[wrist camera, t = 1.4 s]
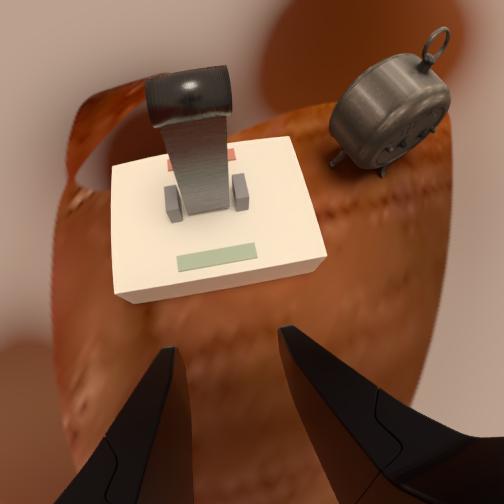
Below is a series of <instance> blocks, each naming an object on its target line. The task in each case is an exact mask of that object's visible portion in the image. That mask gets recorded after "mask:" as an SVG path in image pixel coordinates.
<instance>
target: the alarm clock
mask: <svg viewBox="0 0 504 504" xmlns="http://www.w3.org/2000/svg"><path fill="white" fill-rule="evenodd" d="M443 31H446V39H445V42H444V45H443V47H442V48H441V49H440V50H439V51H438V53H437V54H435V55H434V56H432V55H431V54H428V53H426V52H427V49H428V47H429V45H430V44H431V42H432V41H433V40H434V39H435V37H436V36H437V35H438V34H440V33H441V32H443ZM449 40H450V31H449V29H448V28H447V27H441V28H439V29H437V30H436V31H435V32H433V33H432V34H431V36H430V37H429V39H428V40H427V42H426V44H425V45H424V48H423V51H422V58H423V60H421V59H420V58H419V57H418V56H416V55H414V54H398V55H394V56H391V57H388V58H387V59H384V60H382V61H380V62H379V63H377V64H375V65H374V66H372V67H370V68H369V69H368V70H366V71H365V72H363V74H362V75H360V76H359V77H358V78H357V79H356V80H355V81H354V82H353V83H352V84H351V85H350V86H349V88H348V89H347V90H346V91H345V92H344V94H343V95H342V96H341V98H340V99H339V101H338V102H337V104H336V106H335V108H334V110H333V112H332V114H331V118H330V122H329V131H330V134H331V135H332V137H334V138H335V139H336V141H337V142H338V143H339V144H340V145H341V147H342V148H343V150H342V151H341V152H340V153H339V154H338V155H337V156H336V158H335V159H334V160H333V161H331V162H329V166H330V167H331V168H334V167H335V165H336V164H337V163H338V162H340V161H341V160H343V159H344V158H346V157H347V156H349V157H350V158H351V159H352V161H353V162H354V163H355V164H356V165H357V166H358V167H360V168H362V169H376V168H380V167H382V170H381V176H382V178H383V177H384V176H385V175H386V169H387V166H389V165H390V164H391V163H392V162H393V161H395V160H397V159H398V158H400V157H401V156H403V155H404V154H406V153H407V152H409V151H410V150H411V149H413V148H414V147H415V146H416V145H418V144H419V143H420V142H421V141H422V140H424V139H425V138H426V137H427V136H428V135H429V134H430V133H431V132H432V133H435V132H436V129H435V128H436V127H437V126H438V124H439V123H440V122H441V121H442V119H443V118H444V116H445V115H446V113H447V111H448V109H449V106H450V103H451V95H450V91H449V88H448V87H447V86H446V84H445V83H444V82H443V81H442V80H441V79H440V78H439V77H438V76H437V75H436V74H435V73H434V72H433V71H432V70H431V69H430V67H431V65H433V64H434V63H435V59H436V58H438V57H439V56H440V55H441V54H442V53H443V51H444V50H445V48H446V47H447V45H448V42H449Z"/></svg>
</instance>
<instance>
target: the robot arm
mask: <svg viewBox="0 0 504 504" xmlns="http://www.w3.org/2000/svg"><path fill="white" fill-rule="evenodd" d="M278 341H279V351H280V356H281V359H282V363H283V367H284V370H285V374H286V377H287V381H288V385H289V388H290V392H291V395H292V398H293V401H294V403H295V406H296V408H297V410H298V413H299V415H300V417H301V420H302V422H303V424H304V426H305V429H306V431H307V433H308V436H309V438H310V440H311V442H312V445H313V447H314V449H315V451H316V454H317V456H318V458H319V460H320V462H321V465H322V467H323V469H324V471H325V474H326V476H327V478H328V480H329V482H330V485H331V487H332V489H333V491H334V493H335V495H336V498H337V500H338V502H339V504H504V437H484V438H482V437H481V438H480V437H473V436H469V435H465V434H462V433H460V432H458V431H455V430H453V429H451V428H449V427H447V426H445V425H443V424H441V423H439V422H437V421H435V420H433V419H431V418H429V417H427V416H425V415H423V414H421V413H419V412H417V411H415V410H414V409H412V408H410V407H408V406H406V405H405V404H403V403H402V402H400V401H399V400H397V399H395V398H394V397H392V396H391V395H389V394H388V393H386V392H385V391H384V390H382V389H381V388H379V389H378V386H376V385H375V384H373V383H372V382H371V381H369V380H368V379H366V378H365V377H364V376H362V375H361V374H359V373H358V372H357V371H355V370H354V369H352V368H351V367H350V366H348V365H347V364H345V363H344V362H343V361H341V360H340V359H338V358H337V357H336V356H334V355H333V354H332V353H330V352H329V351H327V350H326V349H325V348H323V347H322V346H321V345H319V344H318V343H317V342H315V341H314V340H313V339H311V338H310V337H308V336H307V335H306V334H304V333H303V332H302V331H300V330H299V329H298V328H296V327H295V326H294V325H286V326H281V327H279V328H278ZM105 436H106V437H103V438H102V440H101V442H100V443H99V445H98V446H97V448H96V449H95V451H94V452H93V454H92V455H91V457H90V458H89V460H88V461H87V462H86V464H85V465H84V466H83V468H82V469H81V470H80V472H79V473H78V474H77V475H76V477H75V478H74V479H73V480H72V481H71V483H70V484H69V485H68V486H67V488H66V489H65V490H64V491H63V493H62V494H61V495H60V496H59V498H58V499H57V500H56V501H55V502H54V504H194V497H193V473H192V424H191V410H190V402H189V394H188V386H187V377H186V370H185V366H184V363H183V360H182V358H181V355H180V352H179V350H178V348H177V346H167V347H163V348H162V349H161V350H160V352H159V353H158V354H157V356H156V357H155V359H154V360H153V362H152V364H151V365H150V367H149V368H148V370H147V371H146V373H145V374H144V376H143V377H142V379H141V380H140V382H139V383H138V385H137V386H136V388H135V389H134V391H133V392H132V394H131V395H130V397H129V398H128V400H127V401H126V403H125V405H124V406H123V408H122V409H121V411H120V412H119V414H118V415H117V417H116V418H115V420H114V422H113V423H112V425H111V426H110V428H109V429H108V431H107V432H106V434H105Z"/></svg>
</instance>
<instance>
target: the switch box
mask: <svg viewBox="0 0 504 504" xmlns="http://www.w3.org/2000/svg"><path fill="white" fill-rule="evenodd" d="M227 151H228V174H229V196H230V207H226V208H220V209H214V210H208V211H203V212H197V213H192V214H187V211H186V208H185V205H184V202H183V199H182V196H181V193H180V190H179V187H178V184H177V181H176V178H175V175H174V171H173V168H172V165H171V162H170V159H169V156H168V154H165V155H160V156H156V157H150V158H146V159H141V160H137V161H133V162H128V163H124V164H120V165H116V166H113V167H112V186H111V245H112V267H113V283H114V294H115V295H117V296H119V297H121V298H123V299H125V300H127V301H129V302H131V303H133V304H138V303H145V302H151V301H157V300H163V299H169V298H176V297H181V296H187V295H193V294H199V293H205V292H210V291H216V290H222V289H227V288H233V287H238V286H244V285H249V284H254V283H260V282H265V281H270V280H275V279H280V278H286V277H291V276H296V275H301V274H306V273H311V272H314V271H315V269H316V268H317V267H318V266H319V265H320V264H321V263H322V261H323V260H324V259H325V258H326V257H327V253H326V249H325V246H324V242H323V239H322V235H321V232H320V229H319V225H318V222H317V219H316V215H315V212H314V209H313V206H312V202H311V199H310V196H309V193H308V190H307V187H306V184H305V181H304V178H303V175H302V172H301V169H300V166H299V163H298V160H297V157H296V154H295V151H294V148H293V146H292V143H291V140H290V137H289V136H286V137H276V138H267V139H258V140H250V141H242V142H235V143H228V144H227Z"/></svg>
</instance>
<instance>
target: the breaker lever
mask: <svg viewBox="0 0 504 504" xmlns="http://www.w3.org/2000/svg"><path fill="white" fill-rule="evenodd" d="M145 92H146V102H147V107H148V113H149V117H150V120H151V123H152V126H153V127H154V128H156V127H160V130H161V133H162V136H163V139H164V143H165V146H166V149H167V152H168V156H169V159H170V162H171V165H172V168H173V171H174V175H175V178H176V181H177V184H178V187H179V190H180V193H181V196H182V199H183V202H184V205H185V208H186V211H187V214H192V213H197V212H203V211H208V210H214V209H220V208H226V207H230V196H229V174H228V151H227V125H226V115H231V114H232V93H231V86H230V78H229V73H228V69H227V66H226V65H222V66H214V67H207V68H199V69H193V70H186V71H181V72H176V73H170V74H165V75H160V76H155V77H151V78H147V79H146V82H145Z"/></svg>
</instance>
